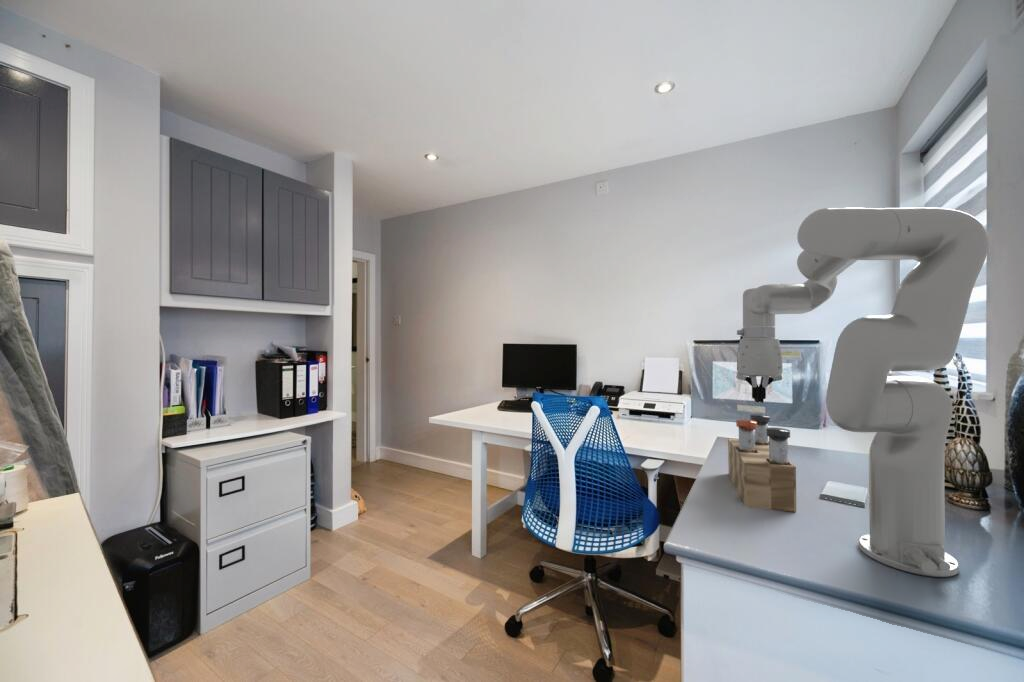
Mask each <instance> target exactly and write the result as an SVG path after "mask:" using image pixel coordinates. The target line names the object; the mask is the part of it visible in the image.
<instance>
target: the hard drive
mask: <svg viewBox="0 0 1024 682" xmlns="http://www.w3.org/2000/svg"><path fill="white" fill-rule="evenodd" d="M868 495H869V487H868V488H867V487H865V486H860V485H854V484H850V483H849V484H847V483H843V482H838V481H837V482H836V481H832V480H831V481H830V480H828V481H826V482H825V484H824V486H823V488H822V490H821V492H820V496H819V498H820V497H821V498H820V499H823V498H827V499H832V500H836V501H835V502H837V501H841V502H840V503H842V502H846V503H845V504H847V503H851V504H850V505H852V504H856V505H855V506H857V505H860V506H859V507H862V506H864V507H863V508H865V507H866V505H865V504H867V500H868ZM827 499H826V500H827ZM832 500H831V501H832Z"/></svg>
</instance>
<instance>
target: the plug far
mask: <svg viewBox="0 0 1024 682" xmlns="http://www.w3.org/2000/svg"><path fill="white" fill-rule="evenodd" d="M749 418H750V419H749V420H754V421H757V428H755V444H757V445H768V441H769V436H767V435H766V428H769V423H770V422H771V415H769V414H763V413H762V414H761V413H750V415H749Z"/></svg>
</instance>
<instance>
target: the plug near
mask: <svg viewBox="0 0 1024 682" xmlns="http://www.w3.org/2000/svg"><path fill="white" fill-rule="evenodd" d="M766 435H767V436H768V441H769V463H770V464H778V465H788V460H789V453H788V452H789V447H788V446H789V445H788V443H789V442H788V441H789V440H788V439H790V438H791V430H790V429H787V428H782V427H768V428H766Z"/></svg>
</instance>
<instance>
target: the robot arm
mask: <svg viewBox="0 0 1024 682" xmlns="http://www.w3.org/2000/svg"><path fill="white" fill-rule="evenodd" d="M798 227H799V228H798V231H797V243H798V246H799V247H800V248H801V249H802V251H801V252H800V253H799V255H798V257H797V260H796V264H797V265H796V266H797V268H798V270H799V272H800V273H801V275H802V276H803V277H805V278H806V279H807V280H806V281H804V282H803V283H780V284H775V283H774V284H763V285H760V286H758V287H754V288H753V287H752V288H748V289H745V290H744V291H743V293H742V328H741V329H737V330H736V335H737V336H741V337H742V338H740V339H739V342H738V350H737V361H736V370H737V372H736V380H740V381H745V382H747V383H748V384H749V385H750V386H751V398H752V399H753V401H754V403H759V402H760V403H764V400H766V397H767V395H766V394H767V393H766V392H767V391H766V389H767V388H768V386H770V385H771V384H772V382H777V381H778V382H779V381H782V380H783V376H782V375H783V356H782V349H781V342H780V339H779V338H776V315H800V314H807V313H809V312H812V311H814V310H816V309H817V308H819V307H820V306H822V304H824V303H825V302H827V301H828V300H829V299H830V298H831V297H832V296H833V294H834V293H835V289H836V287H837V284H838V276H839V275H841V274H842V273H843V272H844V271H845V270H847V269H848V268H849V267H850V266H852V265H853V264H854V263H856V262H857V261H901V260H902V261H904V260H909V261H910V260H911V261H912V260H913V261H917V265H915V266H914V267H913V268H912V269H911V270H910V271H909V272H908V273H907V274H906V276H905V277H903V279H902V281H901V282H900V283H899V287H898V289H897V291H896V294H895V295H896V296H895V301H894V303H893V307H892V309H891V312H890V314H886V315H885V314H884V315H868V316H862V317H858V318H856V319H855V320H853V321H851V322H849V323H848V324H847V325H846V326H845V327H844V328H843V329H842V331H841V332H840V334H839V336H838V339H837V341H836V345H835V349H834V354H833V359H832V362H831V363H832V364H831V368H830V372H829V373H830V374H829V378H828V383H827V389H826V397H825V404H826V405H825V406H826V412H827V414H828V416H829V418H830V420H831V421H832V422H833V423H834V424H835V425H836V426H837V427H839V428H840V429H842V430H845V431H847V432H853V433H875V435H874V437H873V439H872V441H871V443H870V447H869V449H868V450H869V452H868V495H869V497H868V502H869V503H868V504H869V505H868V507H869V513H868V514H869V521H868V522H869V534H864V535H862V536H860V537H859V538H858V548H859V549H860V550H861V551H862V552H863V553H864V554H865V555H867V556H868V557H869V558H871V559H873V560H874V561H877V562H879V563H880V564H884V565H886V566H889V567H892V568H894V569H897V570H900V571H904V572H907V573H911V574H915V575H921V576H928V577H935V578H939V577H940V578H945V577H948V578H949V577H953V576H955V575H957V574H959V572H960V567H959V565H960V564H959V562H958V560H956V558H954V557H953V556H952V555H951V554H950V553H947V552H946V529H945V528H946V525H945V524H946V521H945V520H946V512H945V511H946V510H945V501H946V500H945V453H946V442H947V437H948V432H949V429H950V424H951V422H952V417H953V411H954V409H953V407H954V406H953V402H952V398H951V396H950V394H949V393H948V392H947V390H946V389H945V388H944V387H943V386H941V384H939V383H937V382H936V381H933V380H930V379H928V378H924V377H921V376H914V375H913V376H912V375H889V374H890V373H916V372H930V371H936V370H937V371H938V370H939V369H943V368H944V367H946V366H947V365H949V364H950V362H951V361H952V360H953V358H954V356H955V354H956V351H957V348H958V344H959V341H960V337H961V334H962V330H963V327H964V326H963V325H964V322H965V319H966V316H967V312H968V309H969V305H970V301H971V295H972V293H973V289H974V287H975V284H976V283H977V282H976V281H977V280H978V277H979V274H980V272H981V270H982V268H983V266H984V264H985V261H986V258H987V255H988V251H989V235H988V233H987V230H986V228H985V226H984V225H983V224H982V222H981V221H980V220H979V219H978V218H976V217H975V216H973V215H971V214H969V213H968V212H964V211H962V210H956V209H953V208H943V207H885V208H882V207H880V208H873V207H872V208H871V207H869V208H868V207H867V208H866V207H828V208H827V207H826V208H825V207H824V208H820V209H817V210H815V211H813V212H811V213H810V214H808V215H807V216H806V217H805V219H803V220H802V222H801V224H800V226H798ZM757 377H760V383H759V384H758V382H757Z"/></svg>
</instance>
